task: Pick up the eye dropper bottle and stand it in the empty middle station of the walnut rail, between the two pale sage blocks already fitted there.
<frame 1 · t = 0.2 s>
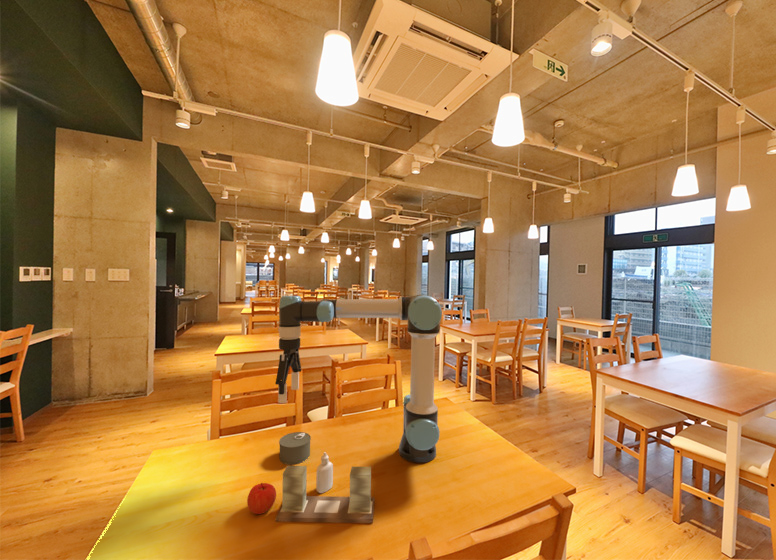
hand: (289, 395, 113), 27 cm above the table, fingers open, 13 cm apart
apple: (261, 510, 93), on the table
can: (294, 457, 122), on the table
rail: (327, 510, 93), on the table
eye dropper bottle: (324, 489, 103), on the table
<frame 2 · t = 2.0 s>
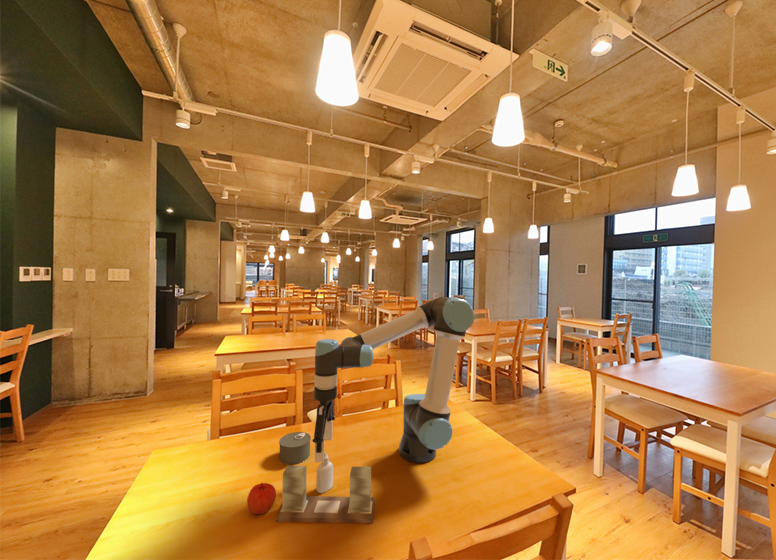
hand: (324, 449, 103), 13 cm above the table, fingers open, 13 cm apart
nothing on the table moved.
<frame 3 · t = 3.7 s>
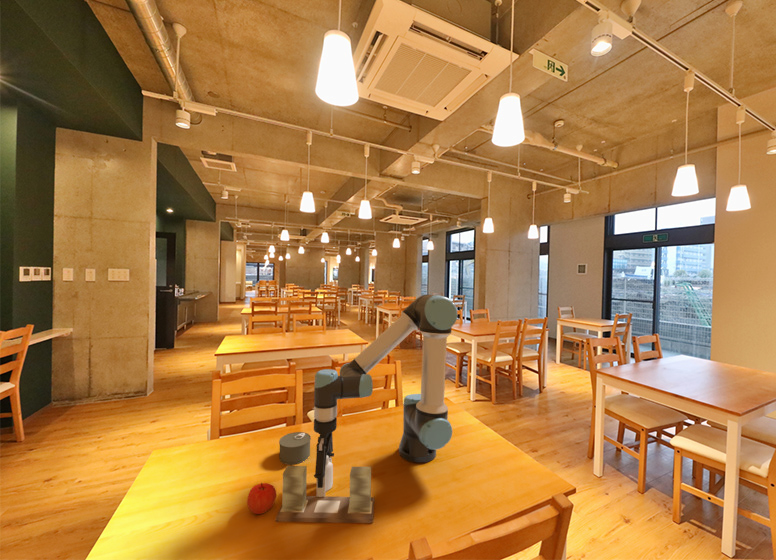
hand: (324, 485, 102), 1 cm above the table, fingers open, 9 cm apart
nothing on the table moved.
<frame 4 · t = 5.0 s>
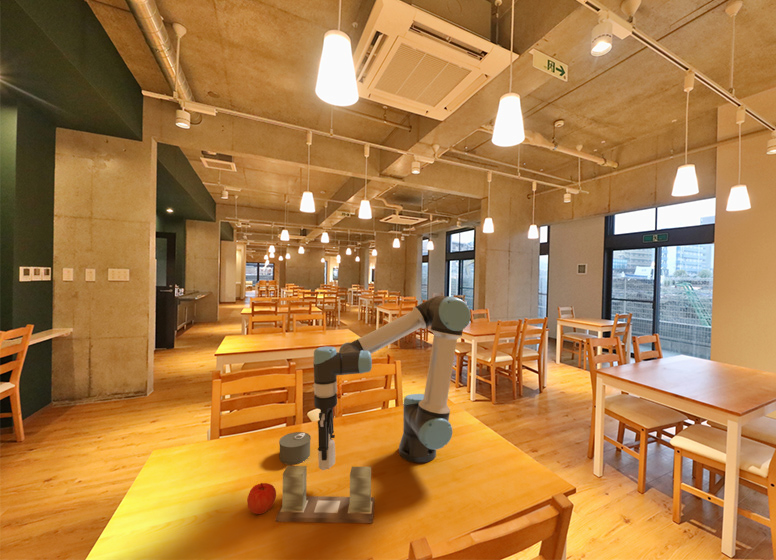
hand: (327, 463, 103), 8 cm above the table, fingers closed on eye dropper bottle, 5 cm apart
eye dropper bottle: (327, 466, 104), point 7 cm above the table, touching gripper
everything else where it was.
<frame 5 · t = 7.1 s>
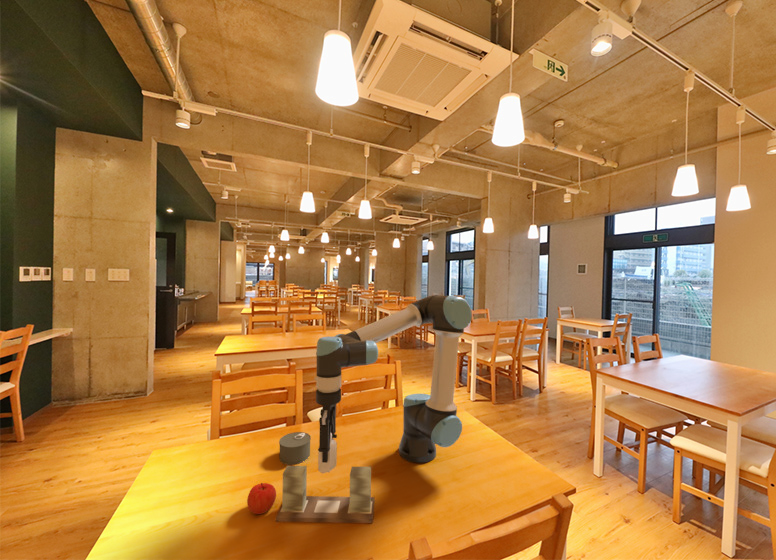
hand: (327, 465, 93), 14 cm above the table, fingers closed on eye dropper bottle, 5 cm apart
eye dropper bottle: (327, 469, 93), point 12 cm above the table, touching gripper
everything else where it was.
when the fingers open (2 cm above the table, at t = 9.6 s): eye dropper bottle stays where it is, resting on rail.
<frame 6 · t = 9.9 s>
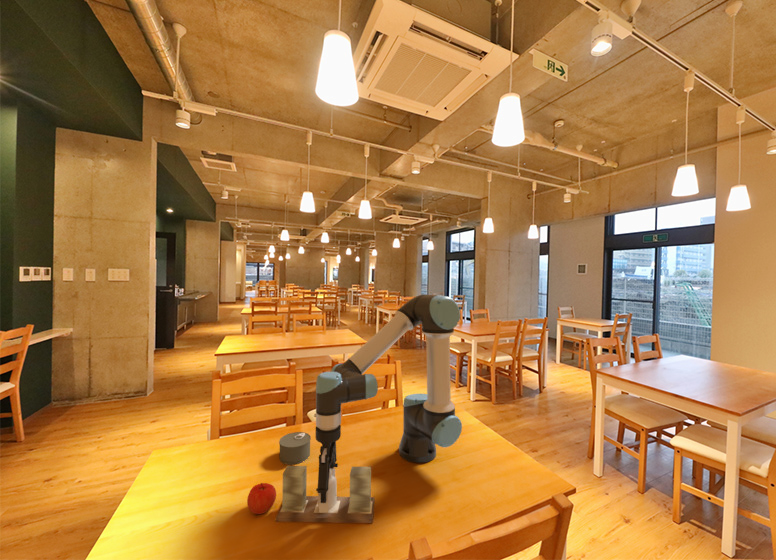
hand: (327, 500, 93), 3 cm above the table, fingers open, 9 cm apart
eye dropper bottle: (327, 506, 93), point 1 cm above the table, touching rail
everything else where it was.
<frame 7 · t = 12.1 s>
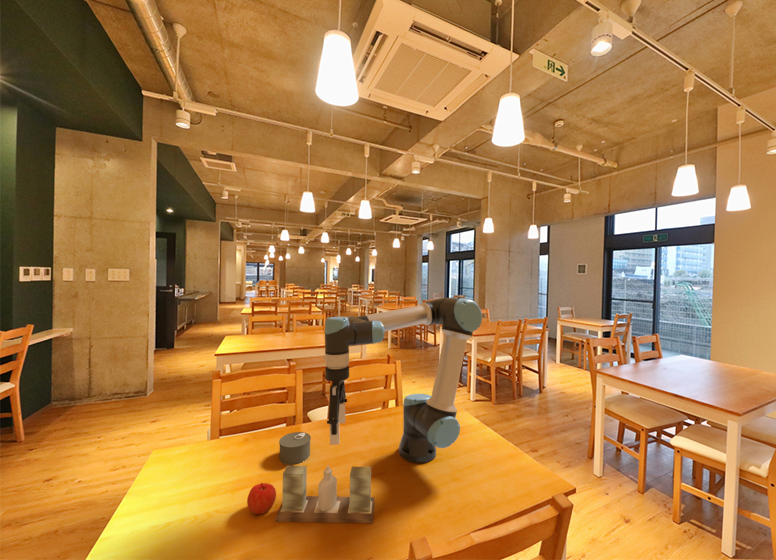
hand: (338, 432, 98), 21 cm above the table, fingers open, 13 cm apart
nothing on the table moved.
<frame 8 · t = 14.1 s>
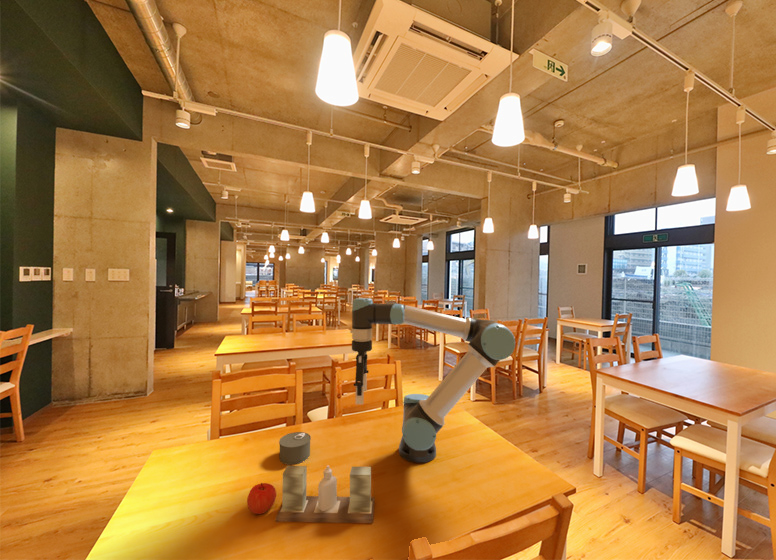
hand: (361, 397, 114), 27 cm above the table, fingers open, 13 cm apart
nothing on the table moved.
at the end: eye dropper bottle inside the target area on the rail (0.2 cm from its centre), point 1.1 cm above the rail's base; eye dropper bottle tilted 0°; the gripper is holding nothing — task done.
